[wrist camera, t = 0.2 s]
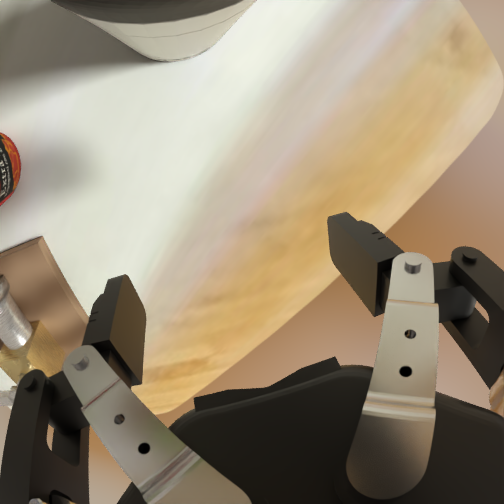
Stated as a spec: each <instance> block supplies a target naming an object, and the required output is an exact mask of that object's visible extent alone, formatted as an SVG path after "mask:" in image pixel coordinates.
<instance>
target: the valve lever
mask: <svg viewBox="0 0 504 504" xmlns="http://www.w3.org/2000/svg"><path fill="white" fill-rule="evenodd" d="M17 387H18V386H12V387H11V388H10V390H8V391H0V406H12V405H13V402H14V398H15V394H16V391H17Z"/></svg>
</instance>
